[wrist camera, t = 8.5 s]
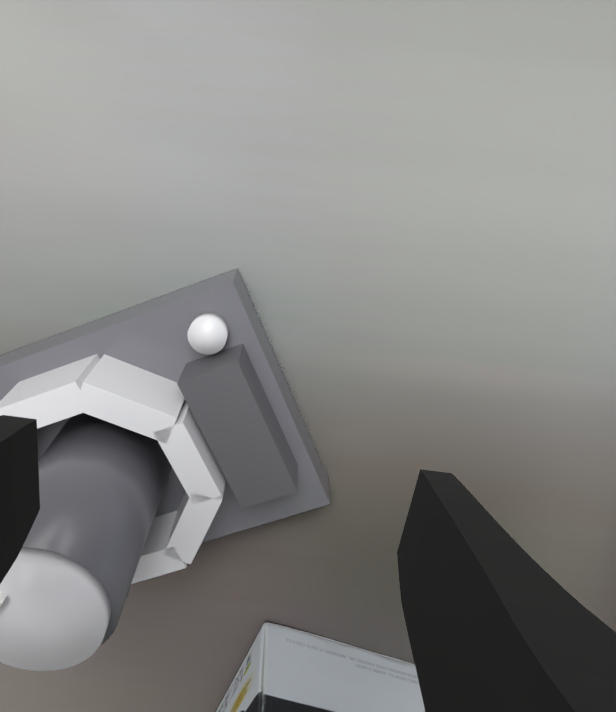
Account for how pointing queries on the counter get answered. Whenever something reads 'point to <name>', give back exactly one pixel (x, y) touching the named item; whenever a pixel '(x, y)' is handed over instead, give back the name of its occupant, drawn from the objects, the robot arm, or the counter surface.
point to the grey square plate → (181, 411)
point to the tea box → (319, 677)
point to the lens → (80, 544)
